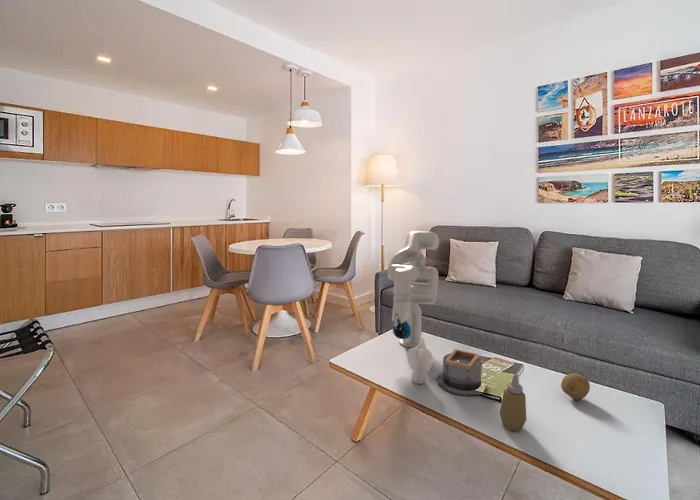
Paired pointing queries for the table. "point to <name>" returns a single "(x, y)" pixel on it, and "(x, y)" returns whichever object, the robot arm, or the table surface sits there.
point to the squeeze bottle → (513, 406)
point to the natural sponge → (575, 386)
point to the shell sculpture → (419, 362)
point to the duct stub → (461, 373)
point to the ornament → (405, 330)
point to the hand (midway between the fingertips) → (401, 334)
